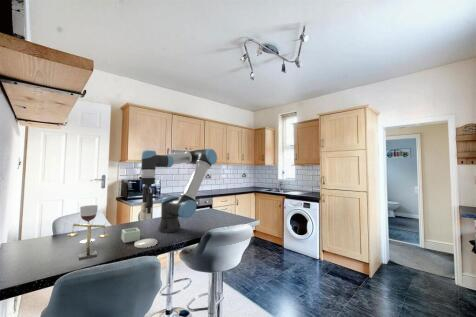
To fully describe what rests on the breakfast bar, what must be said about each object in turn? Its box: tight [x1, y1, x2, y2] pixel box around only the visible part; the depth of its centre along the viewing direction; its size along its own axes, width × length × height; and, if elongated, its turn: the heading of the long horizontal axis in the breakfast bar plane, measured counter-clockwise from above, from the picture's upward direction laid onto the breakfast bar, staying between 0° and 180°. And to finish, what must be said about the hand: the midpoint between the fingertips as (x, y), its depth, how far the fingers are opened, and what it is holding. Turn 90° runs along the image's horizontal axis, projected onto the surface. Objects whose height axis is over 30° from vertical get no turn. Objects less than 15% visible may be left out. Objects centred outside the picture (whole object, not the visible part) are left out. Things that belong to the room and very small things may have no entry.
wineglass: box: [79, 204, 99, 244], centre depth 125 cm, size 8×9×20 cm
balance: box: [66, 223, 110, 260], centre depth 103 cm, size 17×5×16 cm, turn 128°
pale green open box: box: [121, 227, 141, 244], centre depth 128 cm, size 8×8×6 cm
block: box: [140, 202, 154, 221], centre depth 121 cm, size 5×5×9 cm
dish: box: [134, 238, 159, 249], centre depth 120 cm, size 12×12×1 cm
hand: (146, 218), depth 121 cm, fingers closed on block, 5 cm apart
